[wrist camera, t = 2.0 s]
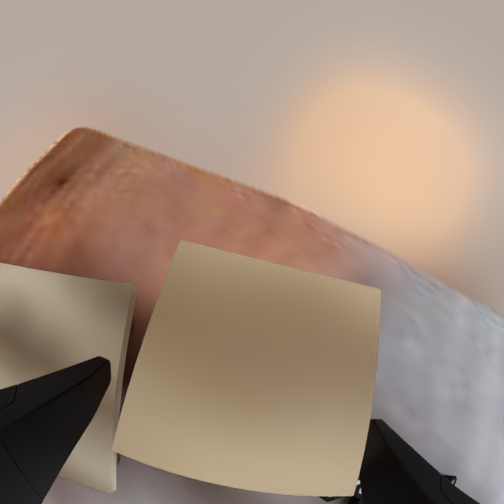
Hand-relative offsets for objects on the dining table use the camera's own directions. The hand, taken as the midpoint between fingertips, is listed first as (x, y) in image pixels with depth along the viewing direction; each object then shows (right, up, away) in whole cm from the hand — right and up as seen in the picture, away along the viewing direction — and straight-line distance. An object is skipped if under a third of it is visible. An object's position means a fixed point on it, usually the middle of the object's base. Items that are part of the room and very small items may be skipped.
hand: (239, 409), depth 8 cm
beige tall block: (-1, -4, +8) cm, 9 cm away
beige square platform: (-13, -3, +7) cm, 15 cm away
